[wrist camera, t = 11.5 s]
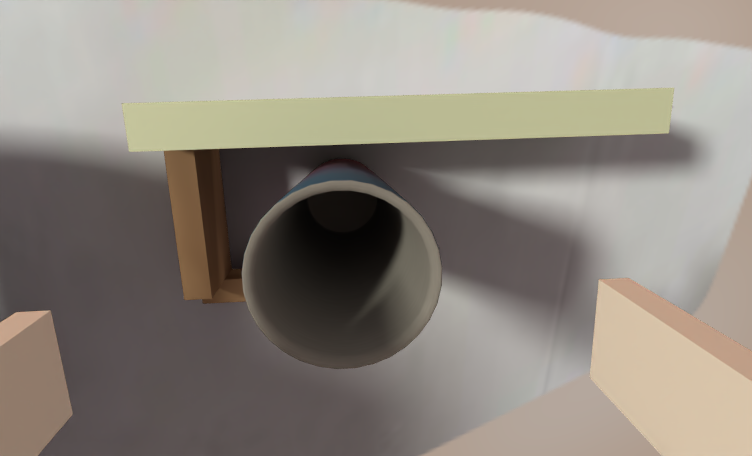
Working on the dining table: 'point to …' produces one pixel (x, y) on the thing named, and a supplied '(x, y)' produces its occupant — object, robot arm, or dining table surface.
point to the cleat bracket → (202, 226)
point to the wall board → (395, 119)
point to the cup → (342, 269)
